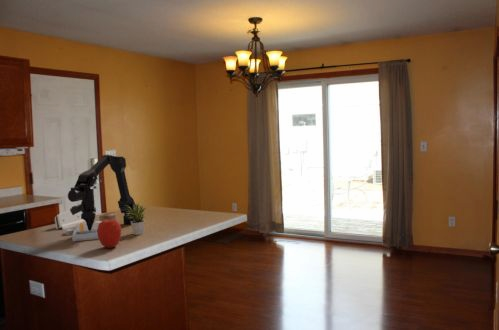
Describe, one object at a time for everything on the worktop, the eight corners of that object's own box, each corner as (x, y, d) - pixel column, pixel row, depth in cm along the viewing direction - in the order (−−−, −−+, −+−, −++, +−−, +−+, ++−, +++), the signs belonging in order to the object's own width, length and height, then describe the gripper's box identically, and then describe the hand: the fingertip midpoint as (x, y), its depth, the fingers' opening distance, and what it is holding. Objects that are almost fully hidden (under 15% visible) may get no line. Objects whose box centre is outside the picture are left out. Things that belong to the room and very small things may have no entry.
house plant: (121, 231, 216) (119, 200, 215) (148, 228, 221) (146, 198, 220) (124, 237, 203) (122, 204, 202) (153, 234, 208) (151, 202, 207)
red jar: (93, 249, 183) (91, 218, 182) (108, 243, 192) (106, 214, 191) (112, 251, 179) (110, 219, 178) (127, 245, 188) (125, 215, 187)
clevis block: (116, 227, 227) (115, 212, 227) (116, 230, 219) (115, 214, 219) (66, 232, 219) (65, 216, 219) (65, 235, 211) (63, 219, 211)
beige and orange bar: (102, 228, 210) (102, 220, 210) (102, 229, 206) (101, 222, 206) (77, 230, 206) (76, 222, 206) (76, 232, 203) (76, 224, 202)
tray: (110, 232, 215) (110, 227, 215) (110, 237, 204) (110, 231, 204) (74, 236, 209) (74, 230, 209) (72, 241, 199) (72, 235, 198)
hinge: (62, 229, 227) (57, 212, 227) (57, 232, 229) (51, 214, 229) (86, 223, 242) (80, 207, 243) (80, 225, 244) (75, 209, 244)
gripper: (72, 197, 211) (74, 227, 213) (68, 202, 194) (70, 235, 195) (95, 195, 215) (97, 225, 216) (93, 200, 197) (95, 232, 198)
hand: (89, 229), depth 206 cm, fingers closed on beige and orange bar, 4 cm apart
